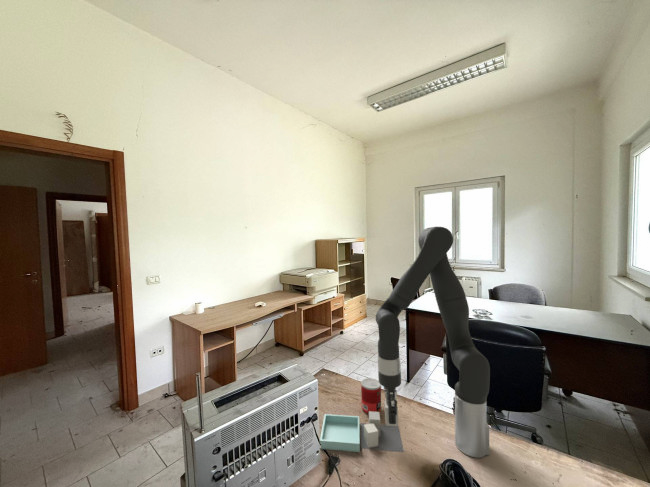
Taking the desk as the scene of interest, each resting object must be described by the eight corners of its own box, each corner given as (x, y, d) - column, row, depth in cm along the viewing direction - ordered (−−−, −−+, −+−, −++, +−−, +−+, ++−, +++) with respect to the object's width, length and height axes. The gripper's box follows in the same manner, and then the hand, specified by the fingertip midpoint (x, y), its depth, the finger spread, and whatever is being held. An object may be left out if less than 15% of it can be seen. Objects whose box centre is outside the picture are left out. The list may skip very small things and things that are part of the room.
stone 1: (379, 428, 96) (379, 412, 96) (380, 436, 92) (380, 419, 92) (368, 427, 97) (368, 411, 97) (369, 435, 93) (369, 419, 93)
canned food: (381, 416, 103) (381, 389, 103) (360, 414, 105) (360, 387, 104) (381, 404, 111) (380, 378, 110) (362, 402, 112) (361, 377, 112)
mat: (398, 426, 97) (398, 425, 97) (404, 453, 86) (404, 451, 86) (360, 424, 99) (360, 423, 99) (360, 449, 87) (360, 448, 87)
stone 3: (396, 417, 91) (395, 400, 91) (398, 426, 87) (397, 408, 87) (385, 417, 91) (384, 400, 91) (386, 425, 87) (385, 407, 87)
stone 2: (373, 436, 92) (373, 423, 92) (378, 445, 88) (378, 431, 88) (363, 438, 91) (363, 424, 91) (368, 447, 88) (368, 433, 87)
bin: (359, 424, 99) (359, 416, 99) (359, 453, 86) (359, 443, 86) (324, 422, 101) (324, 414, 100) (319, 449, 87) (319, 440, 87)
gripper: (404, 380, 81) (406, 434, 82) (397, 359, 96) (399, 405, 96) (379, 379, 82) (382, 433, 83) (376, 359, 96) (378, 405, 97)
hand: (391, 418), depth 89 cm, fingers closed on stone 3, 4 cm apart
